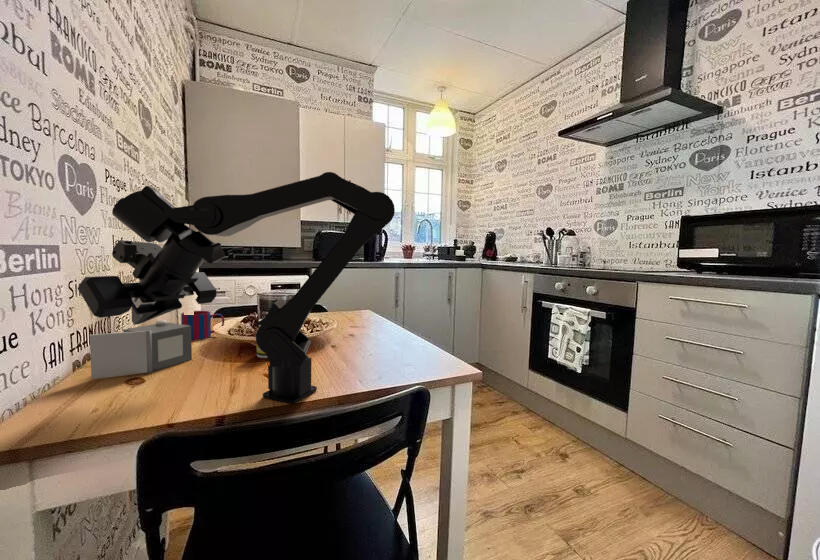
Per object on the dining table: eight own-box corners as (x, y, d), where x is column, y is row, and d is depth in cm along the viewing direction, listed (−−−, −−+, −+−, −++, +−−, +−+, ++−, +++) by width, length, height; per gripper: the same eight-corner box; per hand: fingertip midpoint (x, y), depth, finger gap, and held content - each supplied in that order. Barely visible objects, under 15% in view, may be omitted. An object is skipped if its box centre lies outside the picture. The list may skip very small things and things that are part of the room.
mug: (186, 335, 95) (185, 310, 94) (226, 333, 98) (226, 310, 97) (178, 341, 88) (177, 315, 88) (221, 339, 92) (221, 314, 91)
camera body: (192, 359, 74) (191, 322, 74) (147, 373, 66) (146, 330, 65) (166, 354, 77) (165, 318, 76) (120, 366, 68) (119, 326, 68)
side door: (153, 370, 66) (151, 329, 66) (152, 372, 65) (151, 331, 65) (93, 377, 62) (91, 334, 61) (91, 379, 61) (89, 335, 60)
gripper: (205, 229, 65) (166, 283, 69) (82, 219, 47) (42, 292, 52) (236, 273, 63) (194, 326, 67) (120, 279, 45) (75, 350, 50)
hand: (135, 322), depth 59 cm, fingers closed
